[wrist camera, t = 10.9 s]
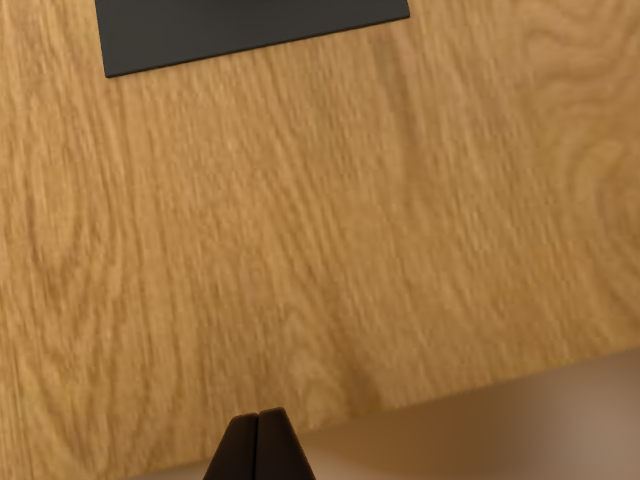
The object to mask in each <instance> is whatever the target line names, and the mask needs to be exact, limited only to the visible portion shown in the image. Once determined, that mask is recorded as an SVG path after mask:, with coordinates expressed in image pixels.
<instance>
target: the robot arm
mask: <svg viewBox="0 0 640 480" xmlns="http://www.w3.org/2000/svg"><path fill="white" fill-rule="evenodd" d="M203 480H316V478H315V476H314V474H313V472H312V470H311V467H310V465H309V463H308V460H307V458H306V456H305V454H304V452H303V449H302V447H301V445H300V443H299V440H298V438H297V436H296V434H295V431H294V429H293V427H292V425H291V423H290V420H289V418H288V416H287V414H286V411H285V410H284V408H282V407H277V408H273V409H268V410H263V411H261V412H260V413H259V415H258V414H257V413H249V414H244V415H239V416H236V417H234V418H233V419H232V420H231V421H230V423H229V425H228V427H227V429H226V431H225V433H224V435H223V438H222V440H221V442H220V444H219V446H218V448H217V450H216V452H215V455H214V457H213V459H212V461H211V463H210V465H209V467H208V469H207V472H206V474H205V476H204V478H203Z"/></svg>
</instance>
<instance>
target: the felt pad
mask: <svg viewBox="0 0 640 480" xmlns="http://www.w3.org/2000/svg"><path fill="white" fill-rule="evenodd" d="M95 6H96V13H97V20H98V28H99V35H100V42H101V49H102V57H103V64H104V71H105V76H106V77H107V78H110V77H114V76H119V75H124V74H129V73H134V72H139V71H144V70H149V69H154V68H159V67H164V66H169V65H174V64H179V63H184V62H189V61H194V60H199V59H204V58H209V57H214V56H219V55H224V54H229V53H234V52H239V51H244V50H249V49H254V48H259V47H264V46H269V45H274V44H279V43H284V42H289V41H294V40H299V39H304V38H309V37H314V36H319V35H324V34H329V33H334V32H339V31H344V30H349V29H354V28H358V27H363V26H368V25H373V24H378V23H383V22H388V21H393V20H398V19H403V18H408V17H410V11H409V7H408V3H407V0H95Z"/></svg>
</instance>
